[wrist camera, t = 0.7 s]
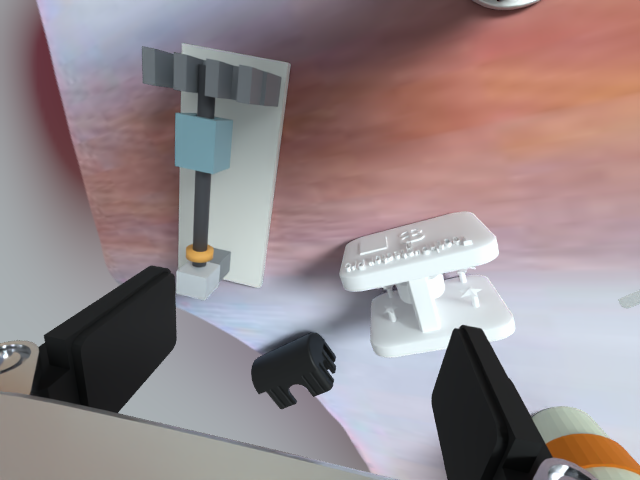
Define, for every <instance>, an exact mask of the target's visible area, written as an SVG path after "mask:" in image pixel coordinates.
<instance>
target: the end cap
mask: <svg viewBox="0 0 640 480" xmlns="http://www.w3.org/2000/svg"><path fill="white" fill-rule="evenodd" d="M335 359H336V356H335V354H334V353H333V352H332V350H331V349H330V348H329V346H328V345H327V344H326V342H325V341H324V339H323V338H322V337H321V336H320V335H319V334H317V333H314V332H312V333H310V334H307V335H305V336H303V337H301V338H299V339H297V340H295V341H292V342H290V343H288V344H286V345H284V346H282V347H280V348H277V349H275V350H273V351H271V352H269V353H267V354H265V355H262V356H260V357H258V358H257V359H256V360H255V361H254V363H253V365H252V370H251V375H252V381H253V384H254V387H255V389H256V391H257V392H258V394H260V393H263V392H267V393H268V394H269V396H270V397H271V398H272V399H273V401H274V402H275V403H276V404H277V405H278V407H279V408H280V409H284V408H286V407H288V406H291V405H294V404H296V402H297V401H296V399H295V398H294V397H293V395H292V394H291V393H290V391H289V388H290V386H292V385H294V384H299V385H303V386H304V387H306V388H307V389H308V391H309V392H310V393H311V394H312V396H313V397H314V396H317V395H319V394H322V393H325V392H327V391H329V390H331V389H332V387H333V382H334V379H333V378H332V376H331V375H330V374H329V372H328V371H327V370H328V369H329V370H330V371H331V372H332V374H333V373H335V370H336V365H335V364H334V363H333V362H335Z"/></svg>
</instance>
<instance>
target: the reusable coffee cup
mask: <svg viewBox="0 0 640 480" xmlns="http://www.w3.org/2000/svg"><path fill="white" fill-rule="evenodd" d="M532 419H533V421H534V423H535V425H536V427H537V429H538V431H539V432H540V434H541V436H542V438H543V440H544V442H545V444H546V445H547V447H548V449H549V451H550V453H551V455H552V457H553V458H559V459H564V460H567V461H569V462H572V463H575V464H576V465H578V466H580V467H582V468H583V469H585V470H587V471H588V472H589V473H591V474H592V475H593V476H595V477H596V478H597V479H598V480H640V465H639V464H638V463H637V462H636V461H635V460H634V459H633V458H632V457H631V456H630V455H629V454H628V452H627V451H626V450H625V449H624V448H623V447H622V446H621V445H619V444H618V443H617V442H615V441H613V440H611V439H610V438H609V437H608V436H607V434H606V433H605V432H604V431H603V430H602V429H601V428H600V427H599V426H598V424H597V423H596V422H595V421H594V420H593V419H592V418H591V417H590V416H589V415H588V414H587V413H585V412H583V411H581V410H579V409H576V408H572V407H552V408H548V409H545V410H543V411H540V412H539V413H537V414H535V415H534V416H533V417H532Z"/></svg>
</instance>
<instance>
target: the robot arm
mask: <svg viewBox="0 0 640 480" xmlns="http://www.w3.org/2000/svg"><path fill="white" fill-rule="evenodd" d="M472 1H474V2H475V3H477V4H480V5H482V6H484V7H486V8H491V9H495V10H514V9H518V8H523V7H527V6H529V5H531V4H534V3H536V2H539V1H541V0H500V2H498V1H497V0H472ZM44 339H45V343H44V344H42V345H41V346H40V347H38V346H37V345H36V344H34V343H33V342H29V341H20V340H19V341H18V340H17V341H8V342H4V343H0V480H398V479H393V478H389V477H385V476H381V475H377V474H373V473H369V472H365V471H360V470H356V469H352V468H348V467H344V466H340V465H336V464H331V463H327V462H323V461H319V460H315V459H311V458H307V457H303V456H299V455H294V454H290V453H286V452H282V451H278V450H273V449H269V448H265V447H261V446H256V445H252V444H248V443H244V442H240V441H235V440H231V439H227V438H223V437H218V436H214V435H210V434H205V433H201V432H197V431H193V430H188V429H184V428H180V427H175V426H171V425H167V424H162V423H158V422H153V421H149V420H145V419H141V418H136V417H131V416H127V415H123V414H119V413H118V412H119V411H120V410H121V408H122V407H123V406H124V405H125V404H126V403H127V402H128V400H129V399H130V398H131V397H132V396H133V395H134V394H135V392H136V391H137V390H138V389H139V388H140V386H141V385H142V384H143V383H144V382H145V381H146V380H147V378H148V377H149V376H150V375H151V374H152V373H153V372H154V370H155V369H156V368H157V367H158V366H159V365H160V364H161V362H162V361H163V360H164V359H165V358H166V357H167V356H168V354H169V353H170V352H171V351H172V350H173V348H174V346H175V344H176V304H175V277H174V275H173V274H171V272H170V270H169V269H167V268H162V267H157V266H149V267H148V268H146V269H144V270H143V271H141V272H140V273H138V274H137V275H135V276H134V277H132V278H131V279H129V280H128V281H126V282H125V283H123V284H122V285H120V286H118V287H117V288H115V289H114V290H112V291H111V292H109V293H108V294H106V295H105V296H103V297H102V298H100V299H99V300H97V301H96V302H94V303H92V304H91V305H89V306H88V307H87V308H85V309H83V310H82V311H80V312H79V313H77V314H76V315H74V316H73V317H71V318H70V319H68V320H66V321H65V322H64V323H62V324H60V325H59V326H57V327H56V328H54V329H53V330H51V331H50V332H48V333H47V334H45V335H44ZM432 408H433V413H434V418H435V422H436V427H437V432H438V437H439V441H440V446H441V451H442V455H443V460H444V465H445V470H446V474H447V479H448V480H598V479H597V478H596V477H595V476H593V475H592V474H591V473H589V472H588V471H587V470H585V469H583V468H582V467H580V466H578V465H576V464H575V463H572V462H569V461H567V460H564V459H559V458H553V457H552V455H551V453H550V451H549V449H548V447H547V445H546V444H545V442H544V440H543V438H542V436H541V434H540V432H539V431H538V429H537V427H536V425H535V423H534V421H533V419H532V418H531V416H530V414H529V412H528V410H527V408H526V406H525V405H524V403H523V401H522V399H521V397H520V395H519V393H518V392H517V390H516V388H515V386H514V384H513V382H512V381H511V380H510V379H509V378H508V376H507V375H506V373H505V371H504V369H503V367H502V365H501V363H500V361H499V360H498V358H497V356H496V354H495V352H494V350H493V348H492V346H491V345H490V343H489V341H488V339H487V337H486V335H485V333H484V331H483V330H482V329H481V328H477V327H472V326H467V325H461V326H460V327H459V329H458V328H454V329H453V331H452V334H451V337H450V340H449V344H448V347H447V350H446V353H445V356H444V359H443V362H442V365H441V368H440V371H439V374H438V377H437V380H436V384H435V387H434V390H433V393H432Z"/></svg>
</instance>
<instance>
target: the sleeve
mask: <svg viewBox="0 0 640 480" xmlns="http://www.w3.org/2000/svg"><path fill="white" fill-rule="evenodd" d="M232 129H233V120H230V119H225V118H220V117H215V116H214V119H209V118H204V117H199V116H197V113H175V166H178V167H182V168H187V169H191V170H196V171H201V172H205V173H210V174H215V173H218V172H220V171H223V170H226V169H228V168H230V157H231V143H232Z"/></svg>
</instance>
